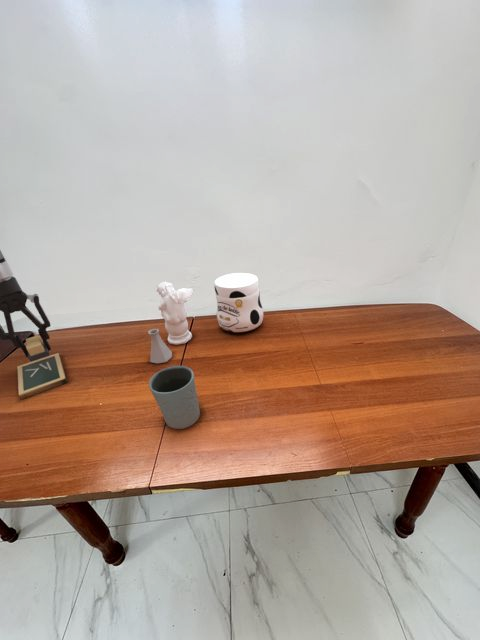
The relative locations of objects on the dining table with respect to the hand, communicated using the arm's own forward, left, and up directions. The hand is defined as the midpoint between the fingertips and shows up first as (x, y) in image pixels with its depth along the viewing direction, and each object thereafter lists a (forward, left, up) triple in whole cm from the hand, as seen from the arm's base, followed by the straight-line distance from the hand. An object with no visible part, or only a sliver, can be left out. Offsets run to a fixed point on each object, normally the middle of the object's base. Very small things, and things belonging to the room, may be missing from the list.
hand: (38, 351), depth 92 cm
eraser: (0, 0, 0) cm, 0 cm away
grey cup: (+55, -1, -7) cm, 55 cm away
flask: (+32, +18, -7) cm, 37 cm away
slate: (+2, -3, -7) cm, 8 cm away
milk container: (+47, +46, -7) cm, 66 cm away
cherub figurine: (+32, +31, -7) cm, 45 cm away
